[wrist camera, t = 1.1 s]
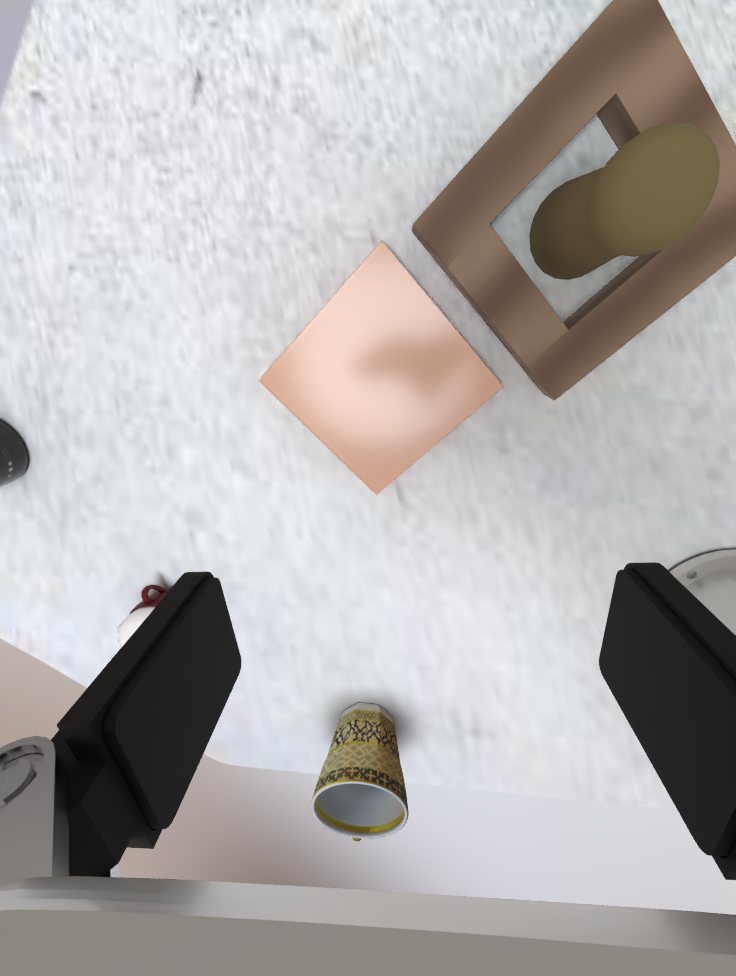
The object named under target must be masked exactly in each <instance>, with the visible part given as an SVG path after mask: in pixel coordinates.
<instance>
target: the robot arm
mask: <svg viewBox="0 0 736 976" xmlns="http://www.w3.org/2000/svg"><path fill="white" fill-rule="evenodd" d="M599 666H600V670H601V673H602V675H603V677H604V679H605V681H606V683H607V685H608V686H609V688H610V690H611V692H612V693H613V695H614V697H615V699H616V701H617V702H618V704H619V706H620V708H621V710H622V711H623V713H624V715H625V717H626V719H627V720H628V722H629V724H630V726H631V727H632V729H633V731H634V733H635V735H636V736H637V738H638V740H639V742H640V744H641V745H642V747H643V749H644V751H645V752H646V754H647V756H648V758H649V760H650V761H651V763H652V765H653V767H654V769H655V770H656V772H657V774H658V776H659V777H660V779H661V781H662V783H663V785H664V786H665V788H666V790H667V792H668V794H669V795H670V797H671V799H672V801H673V803H674V804H675V806H676V808H677V810H678V811H679V813H680V815H681V817H682V819H683V820H684V822H685V824H686V825H687V828H688V829H689V831H690V833H691V835H692V836H693V838H694V840H695V842H696V843H697V845H698V846H699V848H700V849H701V850H702V851H703V852H704V853H705V854H707V855H712V857H713V858H714V860H715V862H716V864H717V865H718V867H719V869H720V870H721V872H722V874H723V876H724V877H725V879H726V880H736V550H735V549H733V550H721V551H715V552H711V553H706V554H703V555H700V556H698V557H695V558H692V559H690V560H688V561H686V562H684V563H682V564H680V565H678V566H677V567H676V568H674V569H673V570H671V571H670V572H669V571H668V570H667V569H666V568H665V567H664V566H662V565H661V564H660V563H629V564H627V565H626V566H625V568H624V570H619V571H618V572H617V575H616V579H615V584H614V589H613V594H612V599H611V604H610V608H609V613H608V618H607V623H606V628H605V633H604V637H603V642H602V647H601V652H600V657H599ZM240 669H241V656H240V652H239V649H238V645H237V641H236V638H235V634H234V630H233V627H232V623H231V620H230V616H229V612H228V609H227V605H226V601H225V598H224V594H223V591H222V587H221V583H220V581H219V579H218V578H214V577H213V575H212V574H211V573H210V572H187V573H184V574H183V575H182V576H181V577H180V578H179V580H178V581H177V582H176V583H175V584H174V586H173V587H172V588H171V589H170V590H169V592H168V593H167V594H166V595H165V596H164V598H163V599H162V600H161V601H160V602H159V603H158V605H157V606H156V607H155V608H154V609H153V611H152V612H151V613H150V614H149V615H148V617H147V618H146V619H145V620H144V621H143V623H142V624H141V625H140V626H139V627H138V629H137V630H136V631H135V632H134V633H133V634H132V636H131V637H130V638H129V639H128V640H127V642H126V643H125V644H124V645H123V646H122V648H121V649H120V650H119V651H118V652H117V654H116V655H115V656H114V657H113V658H112V660H111V661H110V662H109V663H108V664H107V665H106V667H105V668H104V669H103V670H102V671H101V673H100V674H99V675H98V676H97V677H96V679H95V680H94V681H93V682H92V683H91V685H90V686H89V687H88V688H87V689H86V691H85V692H84V693H83V694H82V695H81V697H80V698H79V699H78V700H77V701H76V703H75V704H74V705H73V706H72V707H71V708H70V710H69V711H68V712H67V713H66V714H65V716H64V717H63V718H62V719H61V720H60V722H59V723H58V724H57V727H58V728H59V731H58V732H57V733H56V735H55V736H54V737H53V738H52V740H51V741H50V740H49V739H48V738H47V737H40V736H33V737H28V738H23V739H20V740H17V741H15V742H12V743H10V744H7V745H5V746H3V747H2V748H0V976H736V915H729V914H718V913H706V912H693V911H679V910H678V911H677V910H663V909H648V908H634V907H618V906H605V905H590V904H574V903H560V902H545V901H544V902H543V901H530V900H515V899H499V898H482V897H467V896H451V895H435V894H418V893H401V892H384V891H369V890H352V889H334V888H320V887H302V886H283V885H265V884H246V883H230V882H228V883H227V882H212V881H193V880H176V879H150V878H120V876H119V866H118V863H119V861H120V859H121V857H122V855H123V853H124V851H125V849H126V847H131V848H150V849H153V848H154V846H155V844H156V842H157V840H158V838H159V835H160V833H161V831H162V829H166V828H167V827H169V825H170V824H171V823H172V821H173V819H174V817H175V815H176V813H177V811H178V809H179V806H180V804H181V802H182V800H183V798H184V795H185V793H186V791H187V789H188V786H189V784H190V782H191V780H192V777H193V775H194V773H195V771H196V769H197V766H198V764H199V762H200V759H201V758H202V755H203V753H204V751H205V749H206V746H207V744H208V742H209V740H210V738H211V735H212V733H213V731H214V729H215V726H216V724H217V722H218V720H219V717H220V715H221V713H222V711H223V709H224V706H225V704H226V702H227V700H228V697H229V695H230V693H231V691H232V689H233V686H234V684H235V682H236V680H237V677H238V675H239V673H240Z"/></svg>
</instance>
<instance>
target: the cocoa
mask: <svg viewBox="0 0 736 976" xmlns="http://www.w3.org/2000/svg"><path fill="white" fill-rule="evenodd" d="M150 589H155V590H157V591H158V592H159V593H155V594H154V595H152V596H150V597H149V596H148V592H149V590H150ZM167 593H168V592H167V591H166V589H164V588H162V587H160V586H157V585H149V586H146V587H145V588H144V589H143V591H142V599H143V601H142V602H141V603H140V604H138V605H137V606H136V607H135V608H134V609H133V610H132V611H131V612H130V614H129V616H128V617H127V618H126V619H125V620H124V621H123V622H122V623H121V624H120V625H119V626H118V627H117V630H118V643H119V645H120V646H121V648H122V646H123V645H124V644H125V643H126V642H127V640H128V639H129V638H130V637H131V636H132V634H133V633H134V632H135V631H136V630H137V629H138V627H139V626H140V625H141V624H142V623H143V621H144V620H145V619H146V618H147V617H148V615H149V614H150V613H151V612H152V611H153V609H154V608H155V607H156V606H157V605H158V603H159V602H160V601H161V600H162V599H163V598H164V596H165V595H166V594H167Z"/></svg>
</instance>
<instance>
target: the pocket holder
mask: <svg viewBox="0 0 736 976" xmlns="http://www.w3.org/2000/svg"><path fill="white" fill-rule="evenodd" d="M596 113H597V115H598V116H599V118H600V119H601V121H602V123H603V124H604V126H605V128H606V129H607V131H608V132H609V134H610V136H611V137H612V139H613V140H614V142H615V144H616V145H617V147H618V149H620V148H621V147H622V146H623V145H624V144H626V143H627V142H628V141H629V140H631V139H633V138H634V137H636V136H637V135H639V134H640V133H642V132H643V131H645V130H646V129H649V128H653V127H656V126H660V125H663V124H667V123H671V122H680V123H691V124H693V125H695V126H696V127H698V128H700V129H702V130H703V131H705V132H706V133H707V134H708V135H709V137H710V138H711V140H712V141H713V143H714V144H715V146H716V147H717V152H718V156H719V161H720V169H719V179H718V184H717V187H716V189H715V192H714V195H713V197H712V200H711V203H710V205H709V206H708V208H707V209H706V211H705V212H704V214H703V215H702V217H701V218H700V220H699V221H698V223H697V224H696V225H695V226H694V227H693V228H691V229H690V230H689V231H688V232H687V233H686V234H685V235H684V236H683V237H682V238H680V239H679V240H678V241H676V242H674V243H673V244H671V245H669V246H667V247H665V248H664V249H662V250H660V251H657V252H653V253H649V254H645V255H641V256H640V257H639V258H637V259H636V260H635V261H634V262H633V263H632V264H631V265H629V266H628V267H627V268H626V269H625V270H624V271H622V272H621V273H620V274H619V275H618V276H617V277H615V278H614V279H613V280H612V281H611V282H610V283H609V284H607V285H606V286H605V287H604V288H603V289H602V290H600V291H599V292H598V293H597V294H596V295H595V296H593V297H592V298H591V299H590V300H589V301H588V302H587V303H585V304H584V305H583V306H582V307H581V308H580V309H578V310H577V311H576V312H575V313H574V314H573V315H572V316H570V317H569V318H568V319H567V320H566V321H565V322H562V320H561V319H560V318H559V316H558V315H557V314H556V312H555V311H554V310H553V308H552V307H551V306H550V304H549V303H548V302H547V300H546V299H545V298H544V296H543V295H542V294H541V292H540V291H539V290H538V288H537V287H536V286H535V284H534V283H533V282H532V280H531V279H530V278H529V276H528V275H527V274H526V272H525V271H524V270H523V268H522V267H521V266H520V264H519V263H518V262H517V260H516V259H515V258H514V256H513V255H512V254H511V252H510V251H509V250H508V248H507V247H506V245H505V244H504V243H503V241H502V240H501V239H500V237H499V236H498V235H497V233H496V232H495V231H494V229H493V228H492V227H491V225H490V223H491V222H492V220H493V219H494V218H495V217H496V216H497V215H498V214H499V213H500V212H501V211H502V210H503V209H504V208H505V207H506V206H507V205H508V204H509V203H510V202H511V201H512V200H513V199H514V198H515V197H516V196H517V195H518V194H519V193H520V192H521V191H522V190H523V188H524V187H525V186H526V185H527V184H528V183H529V182H530V181H531V180H532V179H533V178H534V177H535V176H536V175H537V174H538V173H539V172H540V171H541V170H542V169H543V168H544V167H545V166H546V165H547V164H548V163H549V162H550V161H551V160H552V159H553V158H554V156H555V155H556V154H557V153H558V152H559V151H560V150H561V149H562V148H563V147H564V146H565V145H566V144H567V143H568V142H569V141H570V140H571V139H572V138H573V137H574V136H575V135H576V134H577V133H578V132H579V131H580V130H581V129H582V128H583V127H584V126H585V125H586V123H587V122H588V121H589V120H590V119H591V118H592V117H593V116H594V115H595V114H596ZM412 232H413V233H414V234H415V236H416V237H417V238H418V239H419V240H420V242H421V243H422V244H423V245H424V247H425V248H426V249H427V250H428V252H429V253H430V254H431V255H432V257H433V258H434V259H435V260H436V262H437V263H438V264H439V265H440V266H441V268H442V269H443V270H444V271H445V273H446V274H447V275H448V276H449V278H450V279H451V280H452V281H453V283H454V284H455V285H456V286H457V288H458V289H459V290H460V291H461V292H462V294H463V295H464V296H465V297H466V299H467V300H468V301H469V302H470V304H471V305H472V306H473V307H474V309H475V310H476V311H477V312H478V314H479V315H480V316H481V317H482V319H483V320H484V321H485V322H486V323H487V325H488V326H489V327H490V328H491V330H492V331H493V332H494V333H495V335H496V336H497V337H498V338H499V340H500V341H501V342H502V343H503V345H504V346H505V347H506V348H507V349H508V351H509V352H510V353H511V354H512V356H513V357H514V358H515V359H516V361H517V362H518V363H519V364H520V366H521V367H522V368H523V369H524V371H525V372H526V373H527V374H528V375H529V377H530V378H531V379H532V380H533V382H534V383H535V384H536V385H537V387H538V388H539V389H540V390H541V392H542V393H543V394H544V395H546V396H548V397H549V398H551V399H553V400H556V399H557V398H558V397H559V396H561V395H562V394H563V393H564V392H566V391H567V390H568V389H570V388H571V387H572V386H573V385H575V384H576V383H577V382H578V381H580V380H581V379H582V378H583V377H585V376H586V375H587V374H588V373H590V372H591V371H592V370H593V369H595V368H596V367H597V366H598V365H600V364H601V363H602V362H603V361H605V360H606V359H607V358H608V357H610V356H611V355H612V354H613V353H615V352H616V351H617V350H618V349H620V348H621V347H622V346H623V345H625V344H626V343H627V342H629V341H630V340H631V339H632V338H634V337H635V336H636V335H637V334H639V333H640V332H641V331H642V330H644V329H645V328H646V327H647V326H649V325H650V324H651V323H652V322H654V321H655V320H656V319H657V318H659V317H660V316H661V315H662V314H664V313H665V312H666V311H667V310H669V309H670V308H671V307H672V306H674V305H675V304H676V303H677V302H679V301H680V300H681V299H682V298H684V297H685V296H686V295H688V294H689V293H690V292H691V291H693V290H694V289H695V288H696V287H698V286H699V285H700V284H701V283H703V282H704V281H705V280H706V279H708V278H709V277H710V276H711V275H713V274H714V273H715V272H716V271H718V270H719V269H720V268H721V267H723V266H724V265H725V264H726V263H728V262H729V261H730V260H731V259H733V258H734V257H735V256H736V145H735V143H734V141H733V139H732V137H731V136H730V134H729V132H728V130H727V128H726V126H725V124H724V123H723V121H722V119H721V117H720V115H719V113H718V111H717V110H716V108H715V106H714V104H713V102H712V100H711V98H710V97H709V95H708V93H707V91H706V89H705V87H704V85H703V84H702V82H701V80H700V78H699V76H698V74H697V72H696V71H695V69H694V67H693V65H692V63H691V61H690V59H689V57H688V56H687V54H686V52H685V50H684V48H683V46H682V44H681V43H680V41H679V39H678V37H677V35H676V33H675V31H674V30H673V28H672V26H671V24H670V22H669V20H668V18H667V17H666V15H665V13H664V11H663V9H662V7H661V5H660V4H659V2H658V0H613V1H612V2H611V3H610V4H609V5H608V6H607V8H606V9H605V10H604V11H603V12H602V13H601V14H600V15H599V17H598V18H597V19H596V20H595V21H594V22H593V23H592V24H591V26H590V27H589V28H588V29H587V30H586V31H585V32H584V33H583V34H582V36H581V37H580V38H579V39H578V40H577V41H576V42H575V43H574V45H573V46H572V47H571V48H570V49H569V50H568V51H567V52H566V53H565V55H564V56H563V57H562V58H561V59H560V60H559V61H558V62H557V64H556V65H555V66H554V67H553V68H552V69H551V70H550V71H549V73H548V74H547V75H546V76H545V77H544V78H543V79H542V80H541V81H540V83H539V84H538V85H537V86H536V87H535V88H534V89H533V90H532V92H531V93H530V94H529V95H528V96H527V97H526V98H525V99H524V101H523V102H522V103H521V104H520V105H519V106H518V107H517V108H516V109H515V111H514V112H513V113H512V114H511V115H510V116H509V117H508V118H507V120H506V121H505V122H504V123H503V124H502V125H501V126H500V127H499V128H498V130H497V131H496V132H495V133H494V134H493V135H492V136H491V137H490V139H489V140H488V141H487V142H486V143H485V144H484V145H483V146H482V148H481V149H480V150H479V151H478V152H477V153H476V154H475V155H474V156H473V158H472V159H471V160H470V161H469V162H468V163H467V164H466V165H465V167H464V168H463V169H462V170H461V171H460V172H459V173H458V174H457V175H456V177H455V178H454V179H453V180H452V181H451V182H450V183H449V184H448V186H447V187H446V188H445V189H444V190H443V191H442V192H441V193H440V195H439V196H438V197H437V198H436V199H435V200H434V201H433V202H432V203H431V205H430V206H429V207H428V208H427V209H426V210H425V211H424V212H423V214H422V215H421V216H420V217H419V218H418V219H417V220H416V221H415V223H414V224H413V229H412Z"/></svg>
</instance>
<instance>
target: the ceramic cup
mask: <svg viewBox="0 0 736 976" xmlns="http://www.w3.org/2000/svg"><path fill="white" fill-rule="evenodd" d="M312 810H313V813H314V815H315V817H316V818H317V819H318V821H319V822H320V823H322V824H323V825H324V826H325V827H327V828H328V829H330V830H332V831H334V832H336V833H339V834H341V835H344V836H348V837H352V838H353V840H354V841H360V840H361V839H374V838H381V837H385V836H388V835H391V834H393V833H395V832H397V831H399V830H400V829H401V828H402V827H403V826H404V825H405V823H406V821H407V819H408V806H407V797H406V790H405V784H404V778H403V773H402V769H401V764H400V759H399V752H398V746H397V739H396V733H395V726H394V721H393V718H392V716H391V715H390V714H389V713H387V712H386V711H385V710H384V709H383V708H382V707H381V706H379V705H378V704H369V703H357V704H355V705H353V706H351V707H350V708H348V709H346V710H344V711H343V712H342V714H341V717H340V720H339V723H338V726H337V729H336V732H335V735H334V738H333V741H332V744H331V747H330V750H329V753H328V756H327V758H326V760H325V763H324V765H323V768H322V771H321V773H320V776H319V780H318V782H317V785H316V789H315V792H314V796H313V799H312Z"/></svg>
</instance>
